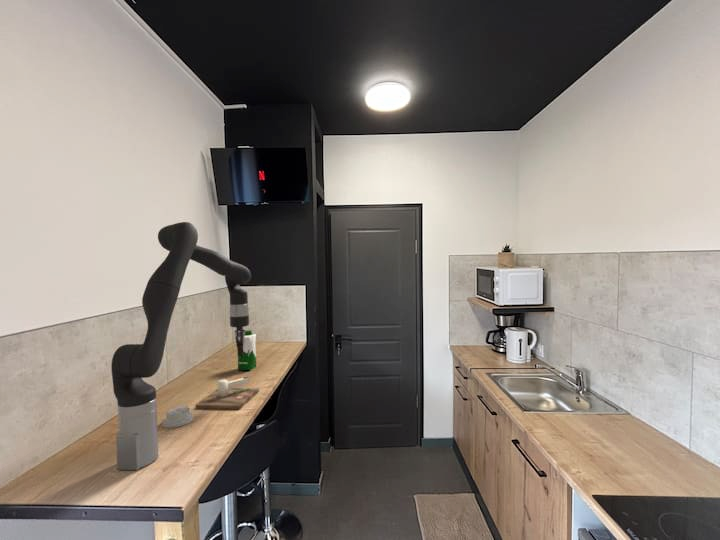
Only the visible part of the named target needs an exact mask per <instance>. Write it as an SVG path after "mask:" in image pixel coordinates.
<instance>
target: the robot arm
mask: <svg viewBox="0 0 720 540" xmlns="http://www.w3.org/2000/svg"><path fill="white" fill-rule="evenodd" d="M198 238H199V235H198V229H197V228H196V226H195V225H194V224H192V223H191V222H188V221H182V222H181V221H180V222H177V223H173V224H169V225H166V226H163V227H162V228H160V229H159V231H158V233H157V239H158V243H159V244H160V246H161V247H162V249H165V250H166V251H167V252H168V254H167V255H166V257H165V258H164V260H163V261H162V262H161V264H160V265H159V266H158V267H157V268H156V269H155V271H154V272H153V273H152V275H151V276H150V277H149V279H148V281H147V283H146V286H145V288H144V292H143V295H142V300H141V301H142V302H141V304H142V309H143V313H144V315H145V318H146V322H147V330H146V335H145V339H144V341H143V343H141V344H140V343H139V344H138V343H130V344H127V343H126V344H123V345H121V346H119V347H118V348H117V349H116V350H115V351H114V353H113V355H112V359H111V369H110V370H111V379H112V387H113V394H114V397H115V399H116V400H117V401H116V402H117V417H118V418H117V420H118V433H117V434H116V436H115V444H116V466H117V467H116V469H117V470H120V471H121V470H124V471H125V470H128V471H138V470H140V469H141V468H143V467H146V466H148V465H150V464H152V463H153V461H154V462H155V461H156V460H158V458H159V434H158V433H159V431H158V412H157V410H158V408H157V407H158V406H157V405H158V402H157V390H156V388H155V386H153V385H151V384H149V383H147V382H146V381H144V380H143V379H144V378H145V379H146V378H151V377H153V376H154V375H155V374H156V373H157V372H158V370H159V368H160V366H161V364H162V361H163V358H164V357H163V356H164V351H165V347H166V342H167V336H168V332H169V328H170V324H171V319H172V316H173V314H174V310H175V306H176V305H177V304H176V303H177V302H178V301H177V300H178V297H179V295H180V291H181V287H182V283H183V280H184V277H185V274H186V271H187V267H188V265H189V263H190V260H191V261H193V262H196V263H198V264H201V265H203V266H204V267H206V268H208V269H210V270H212V271H213V272H215V274H218V275H220V276H223V277H224V281H225V284H226V287H227V291H228V293H229V294H228V295H229V327H231V328H235V329H236V330H234V339H235V344H236V345H235V346H236V348H237V358H238V357H240V356H243V346H244V340H245V336H244V335H245V331H246V330H245V329H244V328H245V327H248V326H249V325H250V312H249V311H250V310H249V309H250V308H249V303H248V301H249V299H248V291H247V289H246V290H245V289H243V288H241V285H244V284H247V283H249V282H250V281H251V279H252V273H251V271H250V269H248V267H247V266H244V265H243V264H240V263H238V262H235V261H234V260H233V261H232V260H231V259H229V258H228V257H227V256H225V255H223V254H221V253H220V252H218V251H215V250H212V249H209V248H206V247H203V246H200V245H197V243H198Z"/></svg>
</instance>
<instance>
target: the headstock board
mask: <svg viewBox="0 0 720 540" xmlns="http://www.w3.org/2000/svg"><path fill="white" fill-rule="evenodd" d="M259 390H260V388H259V387H258V388H256V387H254V388H253V387H252V388H251V387H235V388H231V389H228V396H226V397H218V388H217V389H216V390H214V391H213V392H211V393H210V394H209V395H207V396H206V397H205V398H203V399H202V400H200V401H199V402H198V403H196V404H195V409H198V410H208V409H209V410H242V408H243V407H245V405H246V404H247V403H248V402H249V401H251V400H252V399H253V398H254V397H255V396H256V395H257V394H258V393H259V392H260V391H259Z"/></svg>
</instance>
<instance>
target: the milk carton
mask: <svg viewBox="0 0 720 540" xmlns="http://www.w3.org/2000/svg"><path fill="white" fill-rule="evenodd" d="M244 336H245V340H244V346H243V356H240V357H238V356H237V371H238V370H251V369H253V368H254V367H256V368H257V348H256V347H257V346H256V340H257V338H256V337H257V334H256V333H253V332H252V330H249V329H248V330H245V335H244ZM254 369H255V368H254ZM254 369H253V370H254ZM251 371H252V370H251Z"/></svg>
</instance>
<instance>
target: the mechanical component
mask: <svg viewBox="0 0 720 540" xmlns="http://www.w3.org/2000/svg"><path fill="white" fill-rule="evenodd" d="M194 418H195V415H194V413H192V412H191V408H190V407H188V406H187V405H181V406H175V407H172V408H169V409H168V410H167V411H166V412H165V417H164V418H163V419H162V421H161V424H162V427H164V428H167V429H168V428H170V429H171V428H178V427H182V426H184V425H188V424H190V423H192V422H193V420H194Z"/></svg>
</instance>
